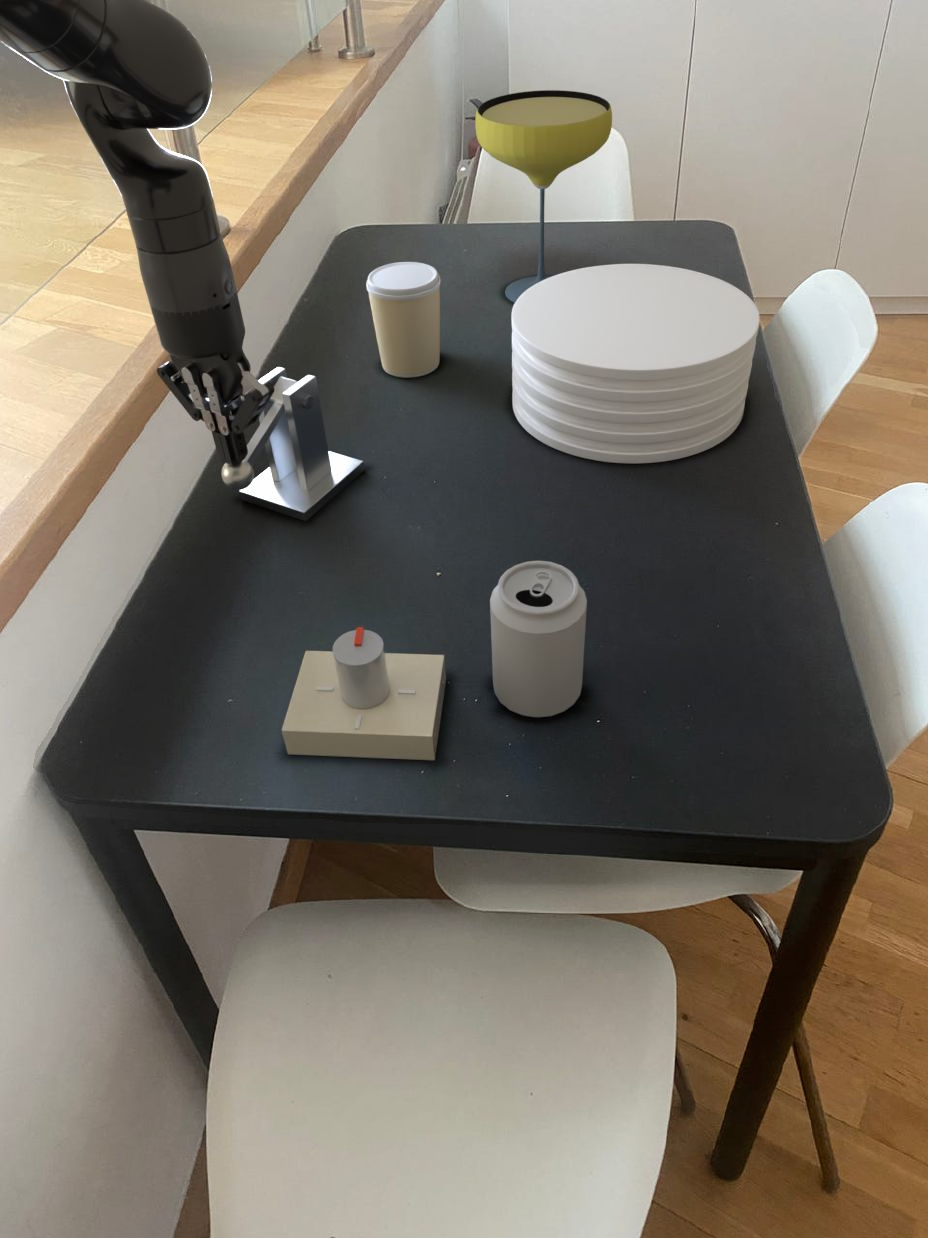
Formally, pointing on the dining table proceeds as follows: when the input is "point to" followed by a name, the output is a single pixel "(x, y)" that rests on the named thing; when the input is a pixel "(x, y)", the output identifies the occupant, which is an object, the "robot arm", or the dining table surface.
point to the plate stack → (632, 361)
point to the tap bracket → (299, 456)
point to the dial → (361, 668)
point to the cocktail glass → (542, 142)
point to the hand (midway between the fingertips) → (234, 460)
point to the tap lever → (258, 440)
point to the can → (538, 638)
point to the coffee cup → (406, 317)
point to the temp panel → (367, 711)
